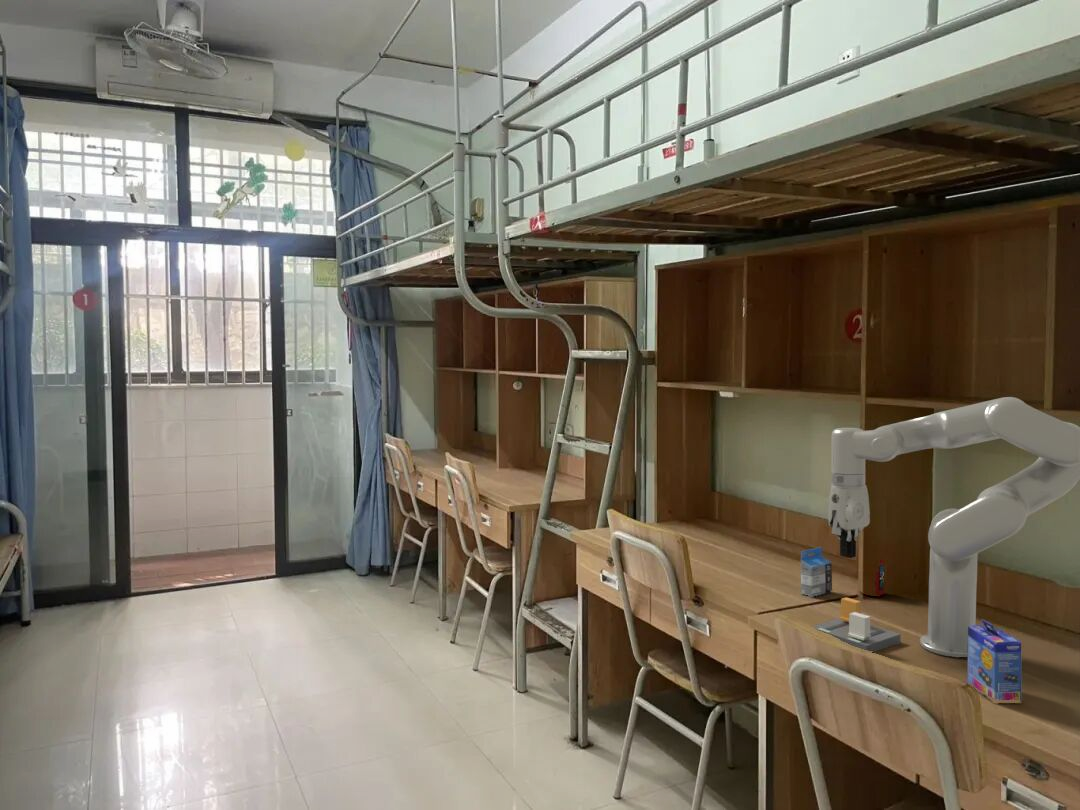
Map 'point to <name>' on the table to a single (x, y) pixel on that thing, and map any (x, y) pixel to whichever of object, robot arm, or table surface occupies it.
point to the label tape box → (815, 573)
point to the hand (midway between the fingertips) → (847, 556)
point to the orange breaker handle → (849, 608)
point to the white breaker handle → (859, 626)
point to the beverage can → (879, 580)
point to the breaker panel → (875, 643)
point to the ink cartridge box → (994, 662)
